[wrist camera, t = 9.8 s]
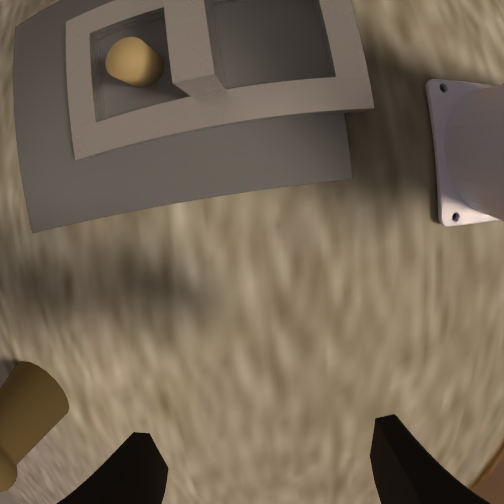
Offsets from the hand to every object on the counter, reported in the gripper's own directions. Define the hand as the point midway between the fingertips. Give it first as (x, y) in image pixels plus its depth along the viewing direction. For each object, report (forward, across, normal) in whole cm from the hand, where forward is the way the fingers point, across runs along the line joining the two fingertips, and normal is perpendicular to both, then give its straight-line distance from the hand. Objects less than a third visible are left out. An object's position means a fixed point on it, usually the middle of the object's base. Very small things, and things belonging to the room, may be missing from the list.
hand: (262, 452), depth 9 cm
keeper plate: (+9, +4, -14) cm, 17 cm away
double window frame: (+8, +1, -14) cm, 17 cm away
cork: (+10, +20, +6) cm, 23 cm away
